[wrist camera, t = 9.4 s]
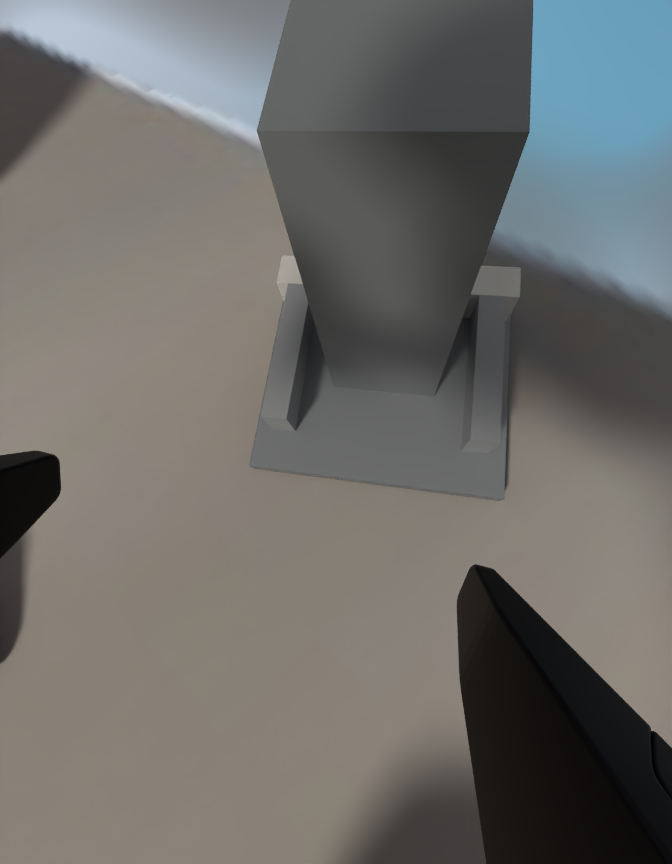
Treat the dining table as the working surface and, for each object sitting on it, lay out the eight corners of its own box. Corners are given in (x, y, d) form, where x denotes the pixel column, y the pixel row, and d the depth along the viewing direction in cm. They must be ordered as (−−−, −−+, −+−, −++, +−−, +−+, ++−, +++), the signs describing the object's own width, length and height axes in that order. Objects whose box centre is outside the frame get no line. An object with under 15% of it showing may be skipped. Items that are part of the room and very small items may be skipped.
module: (433, 396, 19) (529, 131, 7) (333, 386, 20) (257, 130, 8) (440, 319, 20) (533, -28, 8) (345, 313, 21) (294, -17, 9)
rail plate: (499, 500, 18) (519, 493, 16) (254, 468, 20) (234, 457, 18) (507, 302, 21) (525, 267, 18) (290, 289, 23) (278, 255, 20)
